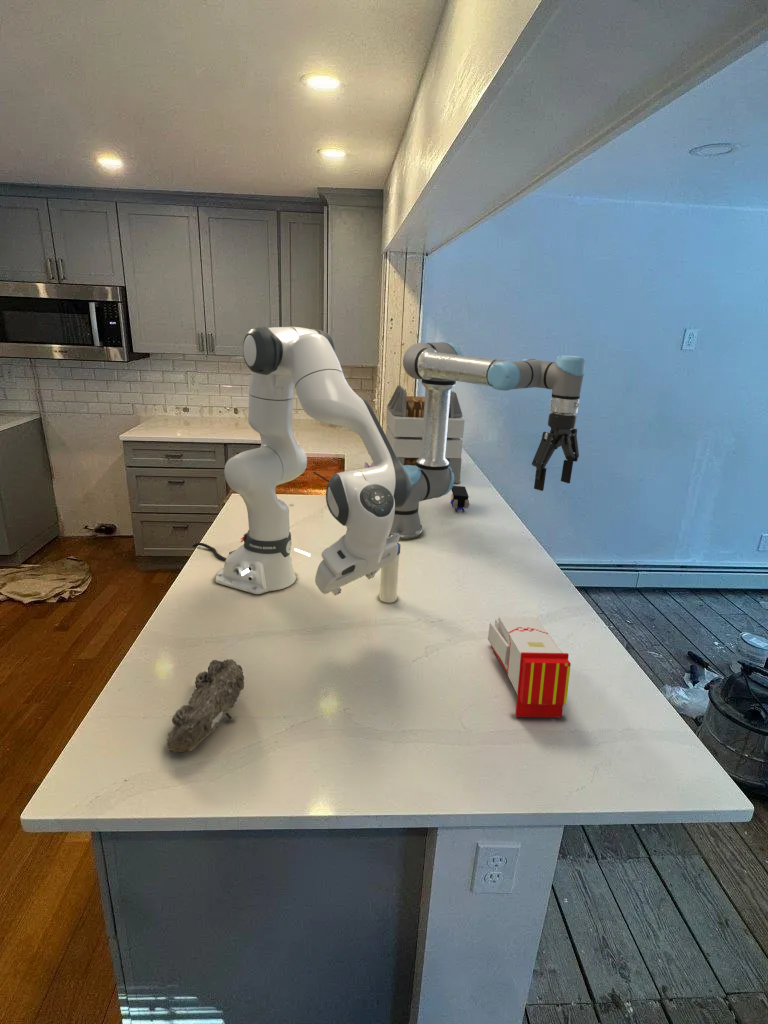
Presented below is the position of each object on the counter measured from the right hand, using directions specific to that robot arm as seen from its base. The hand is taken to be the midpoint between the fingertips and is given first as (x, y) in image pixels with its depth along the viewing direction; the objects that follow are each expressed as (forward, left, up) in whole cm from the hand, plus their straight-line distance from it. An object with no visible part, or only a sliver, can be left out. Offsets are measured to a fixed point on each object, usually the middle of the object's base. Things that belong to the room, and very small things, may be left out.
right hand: (552, 485), depth 166 cm
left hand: (-6, -69, -14) cm, 70 cm away
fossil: (0, -107, -28) cm, 110 cm away
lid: (-15, -49, -12) cm, 53 cm away
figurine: (-85, +3, -28) cm, 90 cm away
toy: (+29, -48, -28) cm, 63 cm away
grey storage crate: (-101, +46, -28) cm, 115 cm away
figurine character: (-55, +24, -28) cm, 66 cm away
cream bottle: (-15, -49, -28) cm, 58 cm away
